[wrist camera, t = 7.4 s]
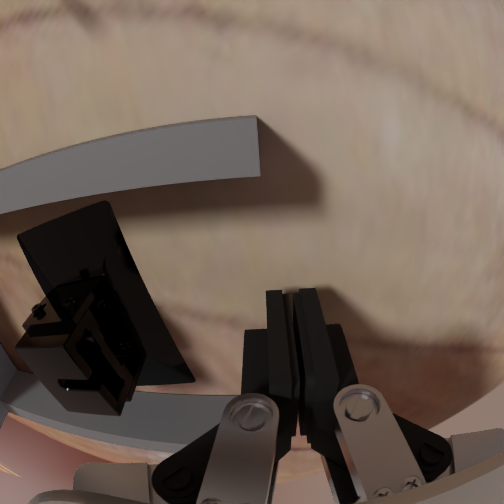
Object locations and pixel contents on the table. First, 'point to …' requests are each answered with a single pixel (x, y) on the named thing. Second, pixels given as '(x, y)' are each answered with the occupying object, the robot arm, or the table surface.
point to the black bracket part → (93, 316)
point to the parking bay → (110, 180)
